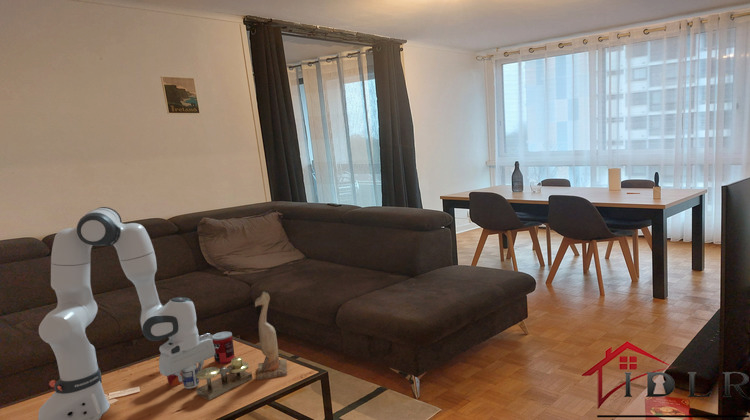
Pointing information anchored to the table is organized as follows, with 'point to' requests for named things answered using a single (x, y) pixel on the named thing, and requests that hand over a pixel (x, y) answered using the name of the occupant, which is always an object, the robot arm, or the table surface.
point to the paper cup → (174, 379)
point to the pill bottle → (190, 376)
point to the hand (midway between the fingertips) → (190, 377)
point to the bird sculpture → (268, 344)
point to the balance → (223, 378)
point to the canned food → (223, 347)
